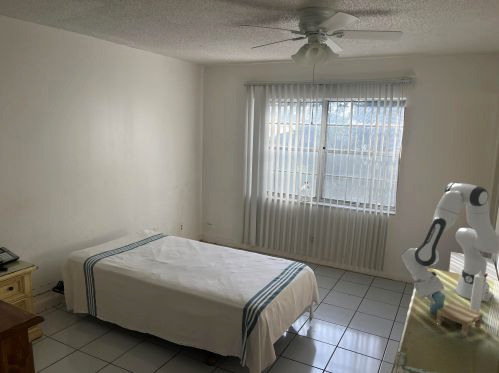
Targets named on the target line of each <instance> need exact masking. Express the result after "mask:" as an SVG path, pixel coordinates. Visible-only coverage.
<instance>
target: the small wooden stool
mask: <svg viewBox="0 0 499 373" xmlns="http://www.w3.org/2000/svg"><path fill="white" fill-rule="evenodd" d="M444 318H447V319H448V320H451V321H453V322H456V323H458V324H460V325H462V326H461V332H460V335H461V336H464V337H468V333H469V326H470V325H472V324H474V328H477V329H480V328H481V326H482V320H483V313H482V312H477V311H474V310H472V309H470V307H466V306H463V305H461V304H459V303H456V302H452V303H449V304H447V305H444V306H443V308H441V309H438V311H437V315H436V319H435V324H436V323H438V324H437V325H439V324H441V323H442V324H443V319H444ZM442 324H441V325H442Z"/></svg>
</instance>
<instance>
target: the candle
mask: <svg viewBox="0 0 499 373" xmlns="http://www.w3.org/2000/svg"><path fill="white" fill-rule="evenodd" d="M484 280H485V277H484V276H483V275H482V273H481V270H480V272H479V273H478V274H477V275H475V276H474V283H473V289H472V296H471V299H470V304H469V309H472V310H474V311H477V312H479V313H481V305H482V301H481V299H482V293H483V286H484Z"/></svg>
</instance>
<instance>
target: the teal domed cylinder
mask: <svg viewBox="0 0 499 373" xmlns="http://www.w3.org/2000/svg"><path fill="white" fill-rule="evenodd" d="M431 296H432V298H433V299H434V300H436V302H437V303H435V304H432V302H431V301H430V306H429V312H430V313H431V314H433V315H436V314H437V311H438V309H441V308H443V307H445V298H446V295H445V293H443V292H441V293H440V292H436V293H433V294H432V295H431Z"/></svg>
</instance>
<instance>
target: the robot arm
mask: <svg viewBox="0 0 499 373" xmlns="http://www.w3.org/2000/svg"><path fill="white" fill-rule="evenodd" d="M488 199H489V192H488V191H487V190H486V188H484V187H481V186H477V185H474V184H470V183H462V182H458V181H456V182H455V181H454V182H453V181H452V182H450V183H448V184H447V185H446V186H445V189H444V193H443V195H442V197H441V198H440V199H439V202H438V204H437V205H436V209H435V211H434V214H433V216H432V222H431V224H430V227H429V230H428V232H427V234H426V236H425V237H424V238H425V239H424V241H423V242H422V244H421V245H419V246H418V248H413V247H410V248H408V249H407V250H405V251H404V252H403V253H402V255H401V259H402V262H403V264H404V265H405V267H406V269H407V271H409V272H410V274H411V278H413V280H414V281H413V286H414V290H415V292H416V293H417V295H418V297H419V298H420V299H424V298H426V299H427V300H428V301H429V302H430V303H431V302H432V304H435V303H437V302H436V300H434V299H433V298H432V294H433V293H436V292H440V293H442V291H443V290H444V289H445V286H444V284H443V283H442V280H441V279H440V277H438V273H436V272H435V271H431V270H429V269H428V267H431V266H434V265H436V264H437V263H438V262H439V260H440V257H441V256H440V252H439V251H438V250H437V248H438V245H439V242H440V240H441V238H442V236H443V234H444V233H445V232H446V231H447V230H448V229H450V228H452V227H453V226H454V224H455V223H456V221H457V220H458V217H459V215H460V212H461V209H462V205H465V212H466V216H465V217H466V223H467V225H469V227H460V228H458V230H457V231H456V232H455V240H456V243H458V244H459V246H460V247H461V249H462V252H463V257H464V259H463V260H464V262H463V269H462V271H461V276H459V277H458V279H457V280H458V281H457V285H456V287H454V288H453V290H454V291H455V292H456V294H457V295H459V296H460V297H463V298H465V299H468V300H471V296H472V289H473V283H474V276H475V275H477V274H478V273H479V272H480V270H481V273H482V275H483V276H484V277H485V280H484V286H483V293H482V299H481V302H490V300H491V299H492V297H493V295H494V293H493V292H492V291H490V283H488V281H487V277H488V272H487V265H488V262H487V259H486V258H485V257H484V255H482V254H481V252H484V253H486V254H495V255H498V254H499V234H498V233H497V232H496V230H495V229H494V227H493V226H492V222H491V218H490V217H491V216H490V207H489V206H490V205H489V204H490V203H489V200H488ZM470 227H471V228H470Z"/></svg>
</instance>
